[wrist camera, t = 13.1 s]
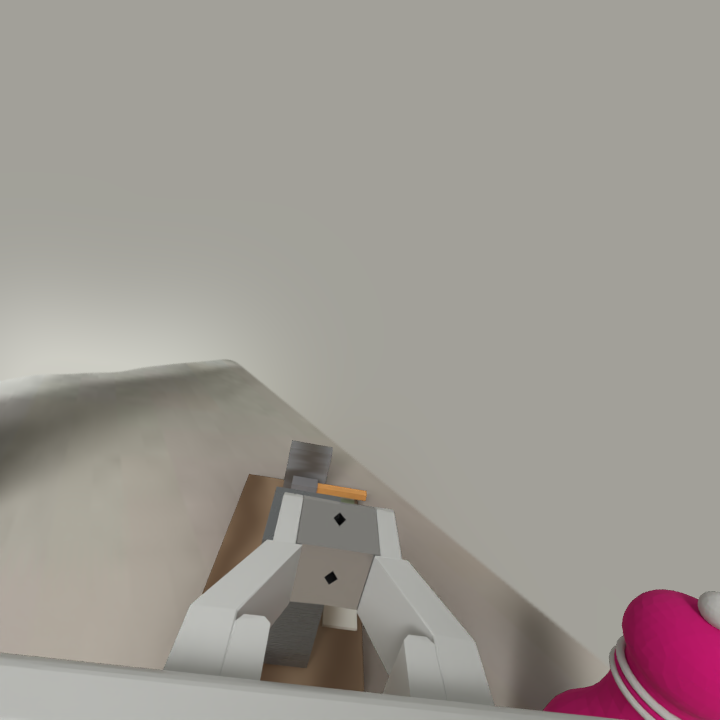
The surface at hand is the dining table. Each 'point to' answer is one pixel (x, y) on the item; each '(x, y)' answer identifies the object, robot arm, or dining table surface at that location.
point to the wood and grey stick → (326, 488)
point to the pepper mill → (658, 663)
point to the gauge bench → (337, 625)
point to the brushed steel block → (292, 607)
